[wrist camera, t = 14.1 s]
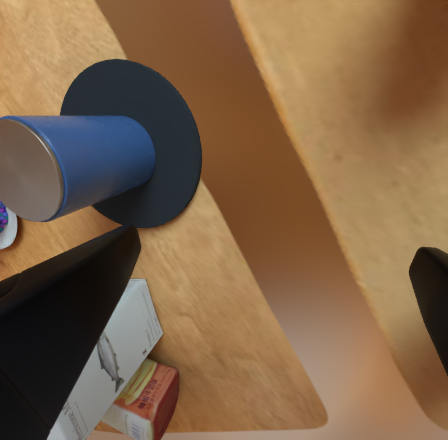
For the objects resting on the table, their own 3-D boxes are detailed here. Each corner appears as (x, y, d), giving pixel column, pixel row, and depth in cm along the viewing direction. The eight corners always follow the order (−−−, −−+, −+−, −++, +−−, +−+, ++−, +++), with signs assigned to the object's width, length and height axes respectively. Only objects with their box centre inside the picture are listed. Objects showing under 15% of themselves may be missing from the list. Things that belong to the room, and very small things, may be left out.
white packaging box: (166, 333, 30) (75, 462, 19) (114, 329, 33) (8, 439, 22) (148, 276, 28) (34, 383, 17) (94, 276, 31) (-35, 368, 20)
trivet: (231, 194, 22) (229, 195, 21) (115, 243, 28) (111, 246, 27) (146, 19, 19) (141, 16, 19) (39, 115, 25) (33, 115, 25)
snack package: (50, 344, 39) (1, 386, 33) (42, 308, 36) (-13, 346, 30) (183, 400, 33) (153, 462, 27) (185, 362, 31) (152, 421, 25)
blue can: (168, 170, 22) (81, 202, 14) (119, 197, 25) (22, 237, 17) (131, 101, 21) (15, 92, 13) (84, 136, 24) (-38, 147, 16)
